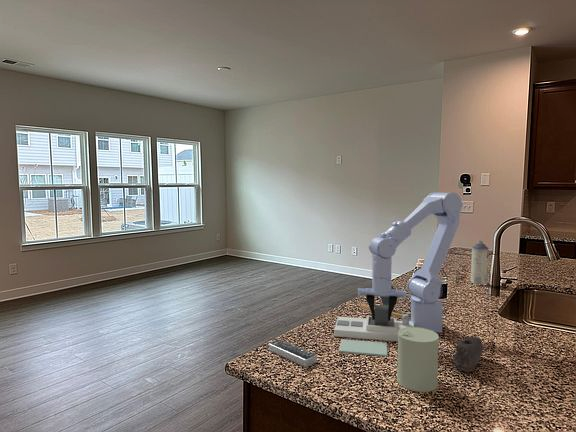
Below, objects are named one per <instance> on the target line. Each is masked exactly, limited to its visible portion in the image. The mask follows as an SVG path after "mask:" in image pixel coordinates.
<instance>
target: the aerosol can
mask: <svg viewBox="0 0 576 432" xmlns="http://www.w3.org/2000/svg"><path fill="white" fill-rule="evenodd" d="M483 241H484V240H481V239H480V240H478V241H477V243H475V244H474V245H473V246H472V248H471V264H470V265H471V266H470V267H471V270H470V284H471V283H473V284H478V285H479V284H480V285H484V284H489V282H488V279H489V278H488V277H489V275H488V274H489V253H490V250H489V247H488V246H487V245H486V244H485V243H484V242H483ZM473 284H472V285H473Z"/></svg>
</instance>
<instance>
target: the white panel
mask: <svg viewBox="0 0 576 432" xmlns="http://www.w3.org/2000/svg"><path fill="white" fill-rule="evenodd" d="M370 318H371V319H372V315H366V318H365V317H364V318H362V317H350V316H349V317H348V316H347V317H346V316H337V319H336V323H335V326H334V330H333V336H334V337H338V338H339V337H341V338H351V339H352V338H353V339H365V340H376V341H389V342H398V331H399V330H400V329H402V328H406V327H414V323H413V322H409V324H408V325H404V324H402V320H396V319H397V317H394V316H391V318H390V320H393V327H388V326H374V325H370Z"/></svg>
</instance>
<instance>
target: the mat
mask: <svg viewBox="0 0 576 432" xmlns="http://www.w3.org/2000/svg"><path fill="white" fill-rule="evenodd" d="M338 353H344V354H352V355H353V354H354V355H364V356H376V357H388V343H387V342H379V341H370V340H369V341H367V340H356V339H343V338H342V339H341V340H340V344H339V349H338Z"/></svg>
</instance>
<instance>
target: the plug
mask: <svg viewBox="0 0 576 432" xmlns="http://www.w3.org/2000/svg"><path fill="white" fill-rule="evenodd" d="M374 307H375V320H372V319H371V318H370V325H374V326H388V327H393V320H390V321H388V306H383V304H382V305H380V304H379V305H378V304H374Z"/></svg>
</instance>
